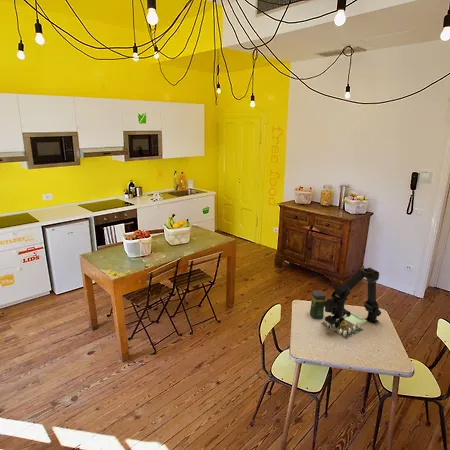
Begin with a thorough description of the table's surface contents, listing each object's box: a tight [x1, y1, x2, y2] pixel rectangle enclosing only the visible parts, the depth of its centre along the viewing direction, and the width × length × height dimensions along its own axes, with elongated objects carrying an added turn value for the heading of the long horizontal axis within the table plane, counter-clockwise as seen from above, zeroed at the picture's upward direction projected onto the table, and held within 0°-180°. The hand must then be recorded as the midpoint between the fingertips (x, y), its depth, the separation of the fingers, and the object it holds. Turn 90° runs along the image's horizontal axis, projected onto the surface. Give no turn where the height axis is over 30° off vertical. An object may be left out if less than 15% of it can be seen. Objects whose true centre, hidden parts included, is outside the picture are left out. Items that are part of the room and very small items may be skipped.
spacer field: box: [320, 320, 364, 340], centre depth 221 cm, size 18×20×4 cm
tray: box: [343, 311, 368, 327], centre depth 229 cm, size 9×12×2 cm
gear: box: [339, 321, 348, 329], centre depth 222 cm, size 6×6×2 cm
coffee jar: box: [309, 289, 327, 320], centre depth 231 cm, size 10×8×19 cm
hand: (336, 327), depth 218 cm, fingers closed
